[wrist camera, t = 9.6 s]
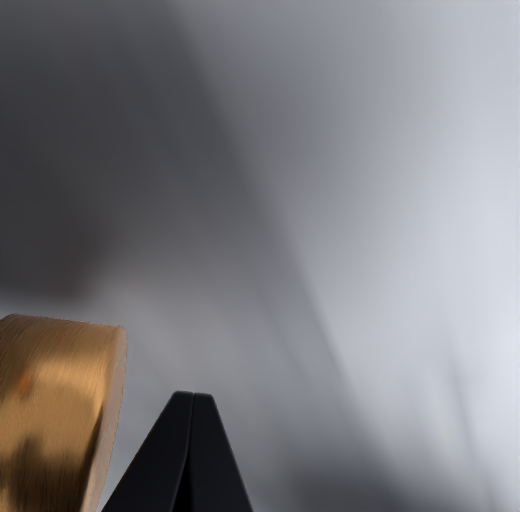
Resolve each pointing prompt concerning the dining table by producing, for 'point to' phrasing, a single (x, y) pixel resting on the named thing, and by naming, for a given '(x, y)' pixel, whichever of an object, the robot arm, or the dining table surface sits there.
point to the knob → (57, 411)
